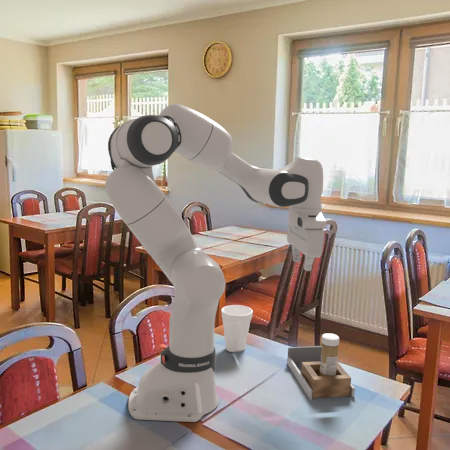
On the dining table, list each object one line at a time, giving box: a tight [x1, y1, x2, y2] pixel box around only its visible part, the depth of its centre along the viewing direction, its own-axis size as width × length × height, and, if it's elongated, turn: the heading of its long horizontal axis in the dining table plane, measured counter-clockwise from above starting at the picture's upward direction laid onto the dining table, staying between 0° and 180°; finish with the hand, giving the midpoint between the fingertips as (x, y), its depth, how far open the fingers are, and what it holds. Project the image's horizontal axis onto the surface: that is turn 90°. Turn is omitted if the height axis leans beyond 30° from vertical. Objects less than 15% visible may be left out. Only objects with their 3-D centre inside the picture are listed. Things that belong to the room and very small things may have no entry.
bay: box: [286, 345, 356, 401], centre depth 133 cm, size 12×20×6 cm, turn 9°
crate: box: [300, 361, 352, 399], centre depth 129 cm, size 10×10×5 cm
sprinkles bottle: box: [320, 332, 340, 376], centre depth 128 cm, size 5×5×14 cm
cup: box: [220, 304, 254, 353], centre depth 152 cm, size 10×10×13 cm
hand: (301, 265), depth 135 cm, fingers open, 8 cm apart
